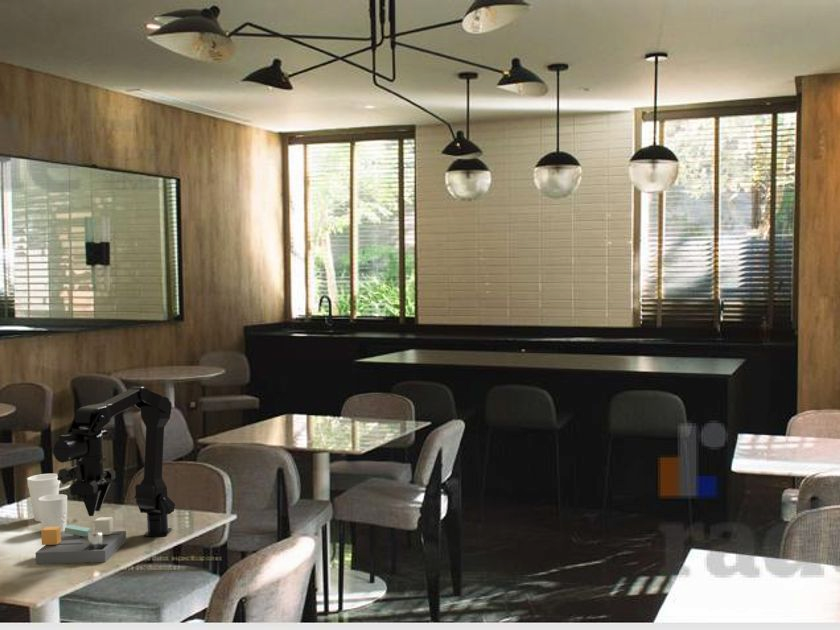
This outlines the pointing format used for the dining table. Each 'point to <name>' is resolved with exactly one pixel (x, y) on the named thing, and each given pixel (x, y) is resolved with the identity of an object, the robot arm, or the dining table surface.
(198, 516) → the dining table surface
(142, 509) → the robot arm
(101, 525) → the beige block
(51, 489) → the foam cup
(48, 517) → the white cup
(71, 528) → the rocker teal
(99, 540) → the clear cube
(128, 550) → the dining table surface
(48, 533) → the fader orange
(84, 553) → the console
